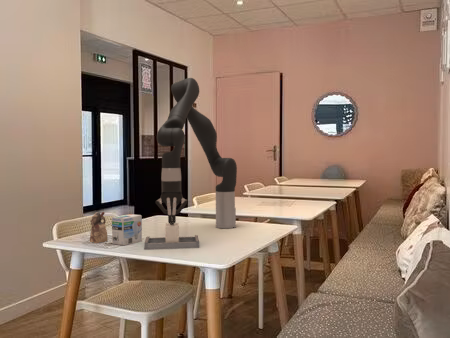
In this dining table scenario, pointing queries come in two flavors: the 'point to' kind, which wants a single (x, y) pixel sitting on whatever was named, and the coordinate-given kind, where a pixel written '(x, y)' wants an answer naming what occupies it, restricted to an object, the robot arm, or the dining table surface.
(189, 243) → the grey flat rectangular frame
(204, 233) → the dining table surface
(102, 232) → the figurine
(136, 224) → the light bulb box
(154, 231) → the dining table surface
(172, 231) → the block
